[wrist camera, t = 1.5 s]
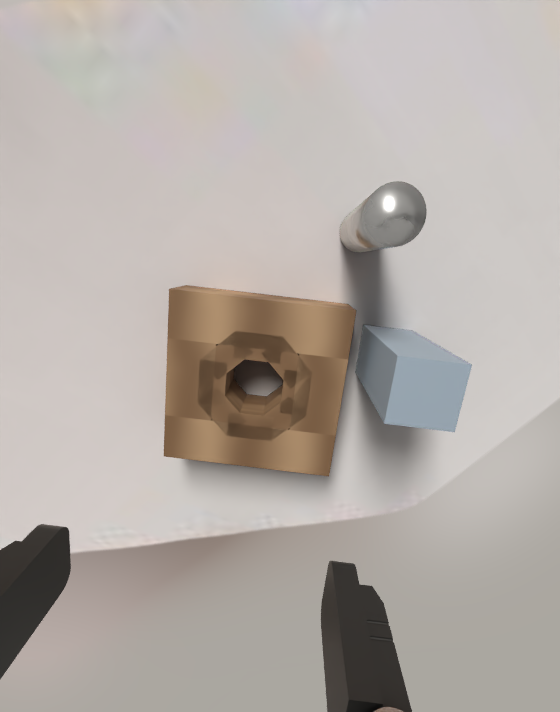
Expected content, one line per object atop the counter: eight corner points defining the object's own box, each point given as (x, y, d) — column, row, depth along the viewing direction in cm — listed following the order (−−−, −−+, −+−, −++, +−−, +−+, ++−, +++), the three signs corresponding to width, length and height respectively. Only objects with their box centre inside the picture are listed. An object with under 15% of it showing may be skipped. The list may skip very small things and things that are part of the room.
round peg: (382, 212, 27) (432, 185, 17) (375, 254, 28) (419, 250, 18) (342, 208, 27) (369, 178, 17) (336, 249, 28) (359, 243, 18)
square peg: (413, 330, 29) (472, 364, 19) (403, 377, 30) (454, 432, 20) (363, 324, 29) (397, 355, 19) (355, 371, 30) (384, 423, 20)
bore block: (348, 304, 29) (356, 310, 25) (324, 450, 32) (328, 476, 28) (186, 285, 29) (169, 288, 25) (179, 432, 32) (163, 456, 28)
